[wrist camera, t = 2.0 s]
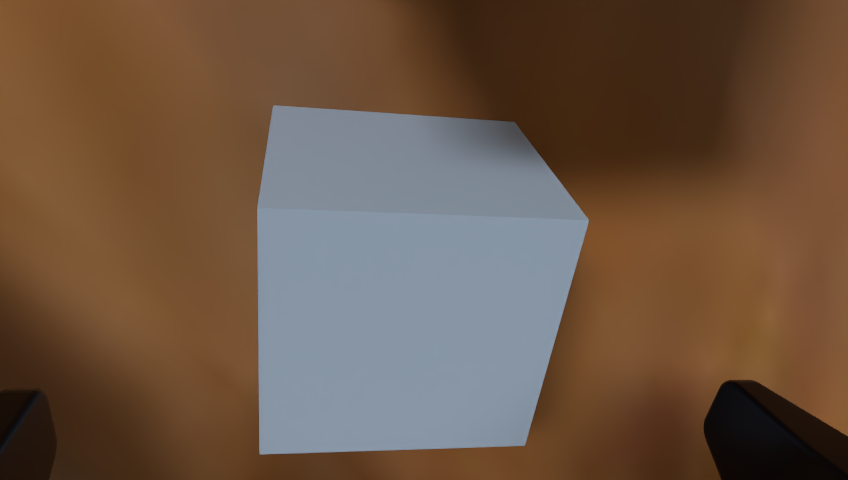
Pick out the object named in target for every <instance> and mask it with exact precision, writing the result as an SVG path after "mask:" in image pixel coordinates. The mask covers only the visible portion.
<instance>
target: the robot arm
mask: <svg viewBox="0 0 848 480" xmlns="http://www.w3.org/2000/svg"><path fill="white" fill-rule="evenodd" d="M704 435H705V438H706V441H707V444H708V446H709V449H710V452H711V454H712V457H713V459H714V462H715V464H716V467H717V470H718V472H719V475H720V477H721V480H848V436H846V435H844V434H843V433H841V432H839V431H838V430H836V429H834V428H833V427H831V426H829V425H828V424H826V423H824V422H823V421H821V420H819V419H818V418H816V417H815V416H813V415H811V414H810V413H808V412H806V411H805V410H803V409H801V408H800V407H798V406H796V405H795V404H793V403H791V402H790V401H788V400H786V399H785V398H783V397H781V396H780V395H778V394H776V393H775V392H773V391H771V390H770V389H768V388H766V387H765V386H763V385H761V384H760V383H758V382H756V381H752V380H729V381H726V382H724V383H723V384H722V385H721V387H720V388H719V390H718V392H717V394H716V397H715V399H714V401H713V403H712V405H711V407H710V409H709V411H708V414H707V416H706V418H705V421H704ZM56 446H57V440H56V433H55V429H54V424H53V420H52V416H51V411H50V407H49V402H48V398H47V395H46V394H45V392H44V391H43V390H41V389H38V388H19V389H6V390H3V391H1V392H0V480H49V478H50V474H51V470H52V466H53V463H54V459H55V454H56Z"/></svg>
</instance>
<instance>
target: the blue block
mask: <svg viewBox="0 0 848 480" xmlns="http://www.w3.org/2000/svg"><path fill="white" fill-rule="evenodd" d="M588 222H589V220H588V218H587V217H586V216H585V214H584V213H583V212H582V210H581V209H580V208H579V206H578V205H577V204H576V202H575V201H574V200H573V198H572V197H571V196H570V194H569V193H568V192H567V191H566V189H565V188H564V187H563V185H562V184H561V183H560V181H559V180H558V179H557V177H556V176H555V175H554V173H553V172H552V171H551V169H550V168H549V167H548V165H547V164H546V163H545V161H544V160H543V159H542V158H541V156H540V155H539V154H538V152H537V151H536V150H535V148H534V147H533V146H532V144H531V143H530V142H529V140H528V139H527V138H526V136H525V135H524V134H523V132H522V131H521V130H520V128H519V127H518V126H517V125H516V123H515V122H509V121H494V120H480V119H465V118H450V117H436V116H421V115H406V114H392V113H377V112H363V111H348V110H333V109H319V108H304V107H289V106H275V105H273V110H272V117H271V123H270V129H269V136H268V142H267V149H266V155H265V162H264V168H263V175H262V181H261V188H260V194H259V200H258V207H257V223H258V340H259V454H289V453H319V452H350V451H380V450H411V449H441V448H471V447H502V446H525V443H526V440H527V436H528V433H529V429H530V426H531V422H532V419H533V415H534V412H535V408H536V405H537V401H538V398H539V394H540V391H541V387H542V384H543V380H544V377H545V373H546V370H547V366H548V363H549V359H550V356H551V352H552V349H553V345H554V342H555V338H556V335H557V331H558V328H559V324H560V321H561V317H562V314H563V310H564V307H565V303H566V300H567V296H568V293H569V289H570V286H571V282H572V279H573V275H574V272H575V268H576V264H577V261H578V257H579V254H580V250H581V247H582V243H583V240H584V236H585V233H586V229H587V226H588Z"/></svg>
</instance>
